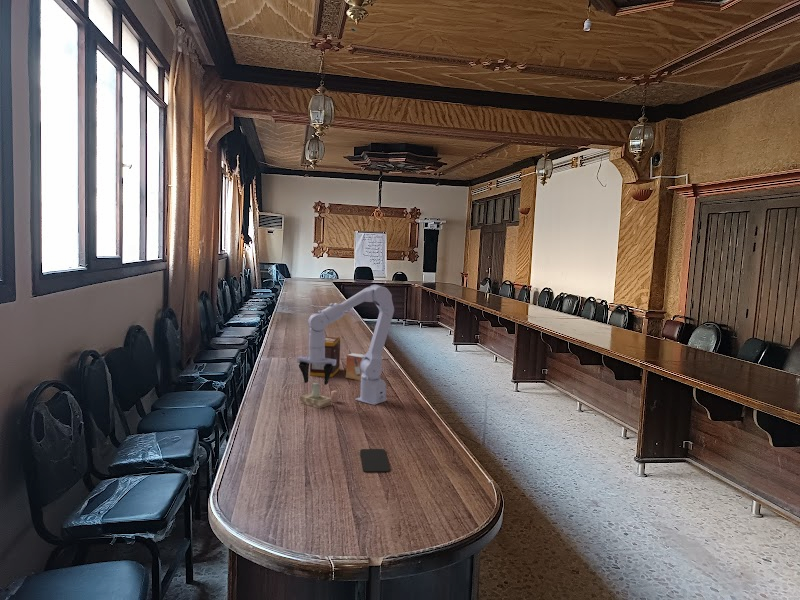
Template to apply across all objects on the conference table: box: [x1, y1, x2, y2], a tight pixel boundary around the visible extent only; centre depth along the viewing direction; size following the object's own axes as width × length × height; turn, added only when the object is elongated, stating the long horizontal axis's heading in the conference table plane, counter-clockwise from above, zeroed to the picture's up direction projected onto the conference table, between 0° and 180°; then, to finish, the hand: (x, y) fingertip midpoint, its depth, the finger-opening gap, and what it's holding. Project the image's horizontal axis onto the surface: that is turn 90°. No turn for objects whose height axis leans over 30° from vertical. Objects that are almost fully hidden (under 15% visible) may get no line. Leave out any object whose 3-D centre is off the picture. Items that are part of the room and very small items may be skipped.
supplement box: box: [309, 335, 341, 378], centre depth 247 cm, size 10×15×16 cm
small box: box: [345, 352, 365, 382], centre depth 239 cm, size 8×6×10 cm
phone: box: [359, 448, 391, 474], centre depth 151 cm, size 7×1×15 cm
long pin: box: [311, 382, 320, 399], centre depth 200 cm, size 3×3×8 cm
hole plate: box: [299, 392, 332, 409], centre depth 200 cm, size 10×6×2 cm, turn 55°
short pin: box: [330, 390, 339, 404], centre depth 204 cm, size 3×3×4 cm
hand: (316, 383), depth 200 cm, fingers open, 7 cm apart
